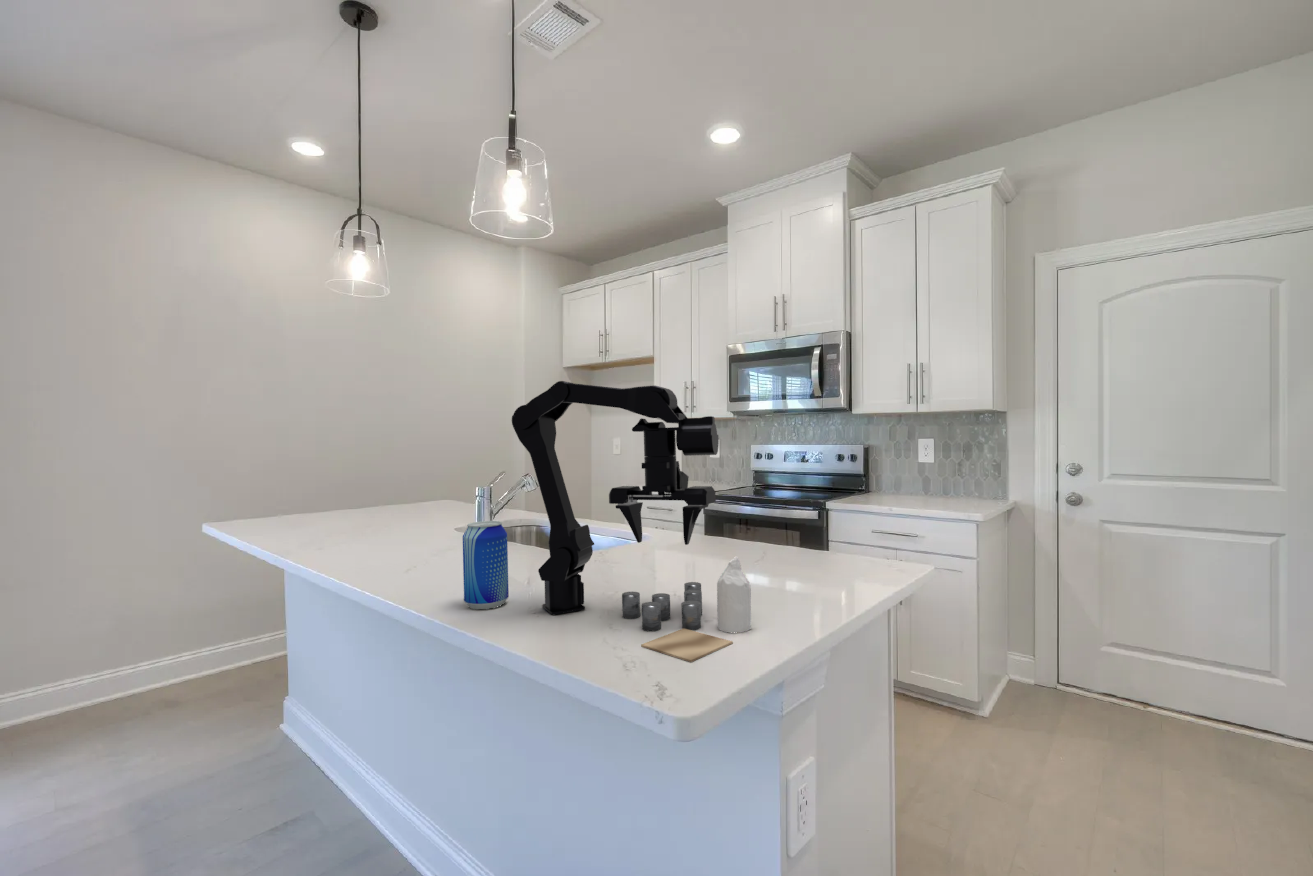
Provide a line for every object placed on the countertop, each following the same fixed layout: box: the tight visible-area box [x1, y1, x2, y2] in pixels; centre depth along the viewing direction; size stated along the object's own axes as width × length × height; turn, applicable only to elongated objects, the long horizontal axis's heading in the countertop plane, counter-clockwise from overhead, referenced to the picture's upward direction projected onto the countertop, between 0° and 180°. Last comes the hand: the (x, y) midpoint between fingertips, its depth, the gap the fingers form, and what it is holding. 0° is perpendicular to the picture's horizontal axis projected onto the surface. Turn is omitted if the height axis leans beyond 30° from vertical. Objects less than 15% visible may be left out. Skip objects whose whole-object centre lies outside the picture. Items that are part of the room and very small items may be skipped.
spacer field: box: [621, 581, 703, 632], centre depth 105 cm, size 16×14×4 cm
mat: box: [640, 628, 734, 663], centre depth 91 cm, size 10×10×1 cm
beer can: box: [462, 520, 509, 610], centre depth 116 cm, size 8×8×16 cm
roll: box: [716, 556, 752, 634], centre depth 99 cm, size 6×12×6 cm
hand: (662, 543), depth 106 cm, fingers open, 9 cm apart
